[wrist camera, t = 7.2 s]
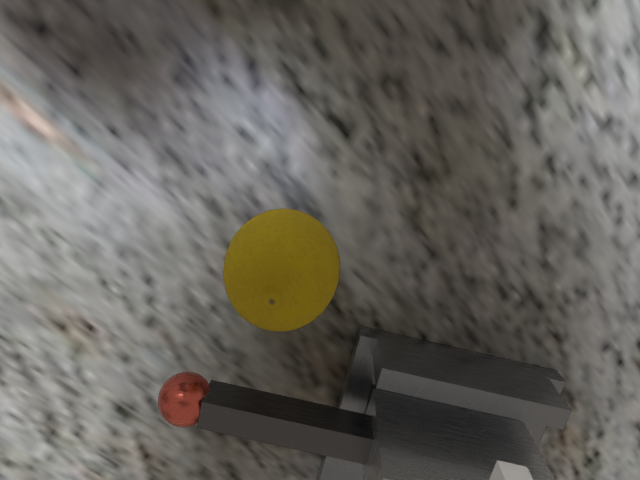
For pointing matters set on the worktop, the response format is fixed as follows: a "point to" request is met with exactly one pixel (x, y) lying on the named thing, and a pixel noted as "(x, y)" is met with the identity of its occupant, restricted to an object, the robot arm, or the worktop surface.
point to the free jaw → (360, 430)
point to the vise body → (446, 385)
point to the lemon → (281, 270)
